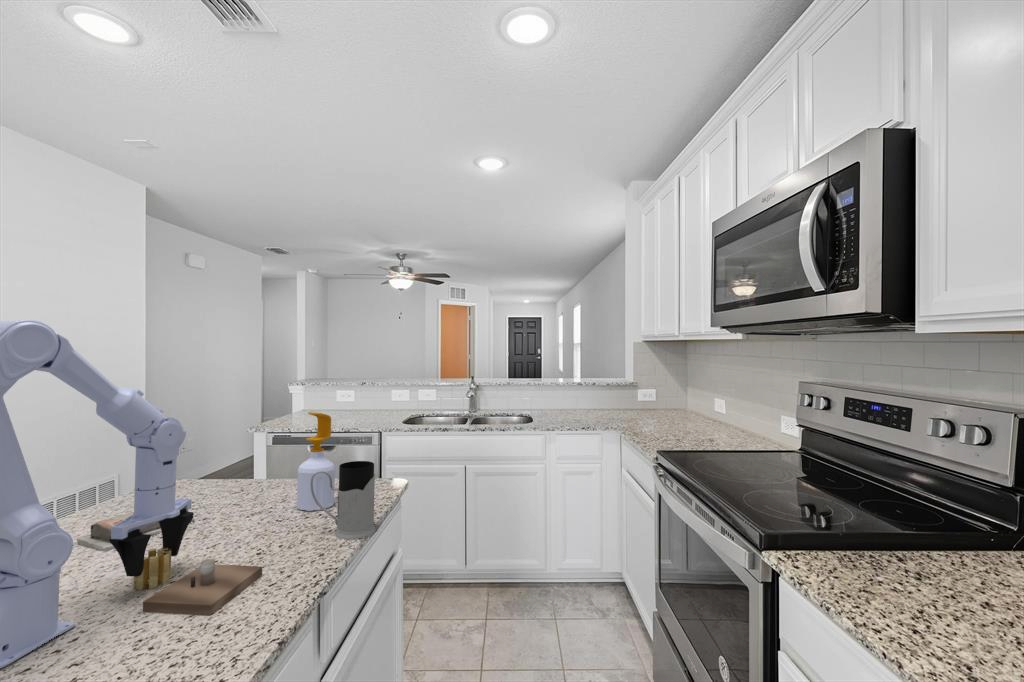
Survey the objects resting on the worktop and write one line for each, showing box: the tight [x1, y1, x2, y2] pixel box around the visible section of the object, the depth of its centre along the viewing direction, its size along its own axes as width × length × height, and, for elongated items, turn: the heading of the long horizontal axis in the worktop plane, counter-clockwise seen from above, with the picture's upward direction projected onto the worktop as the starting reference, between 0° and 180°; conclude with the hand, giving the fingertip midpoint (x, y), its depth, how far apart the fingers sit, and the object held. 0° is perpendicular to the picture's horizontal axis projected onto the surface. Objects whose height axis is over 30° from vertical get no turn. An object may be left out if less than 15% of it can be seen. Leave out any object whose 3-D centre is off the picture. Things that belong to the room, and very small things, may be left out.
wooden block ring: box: [132, 546, 172, 591], centre depth 81 cm, size 5×5×5 cm
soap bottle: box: [296, 412, 336, 512], centre depth 122 cm, size 9×9×25 cm
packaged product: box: [76, 510, 196, 552], centre depth 103 cm, size 18×5×10 cm
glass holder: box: [311, 460, 377, 540], centre depth 105 cm, size 9×14×15 cm, turn 99°
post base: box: [142, 558, 263, 616], centre depth 78 cm, size 13×11×5 cm
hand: (153, 564), depth 81 cm, fingers open, 7 cm apart
